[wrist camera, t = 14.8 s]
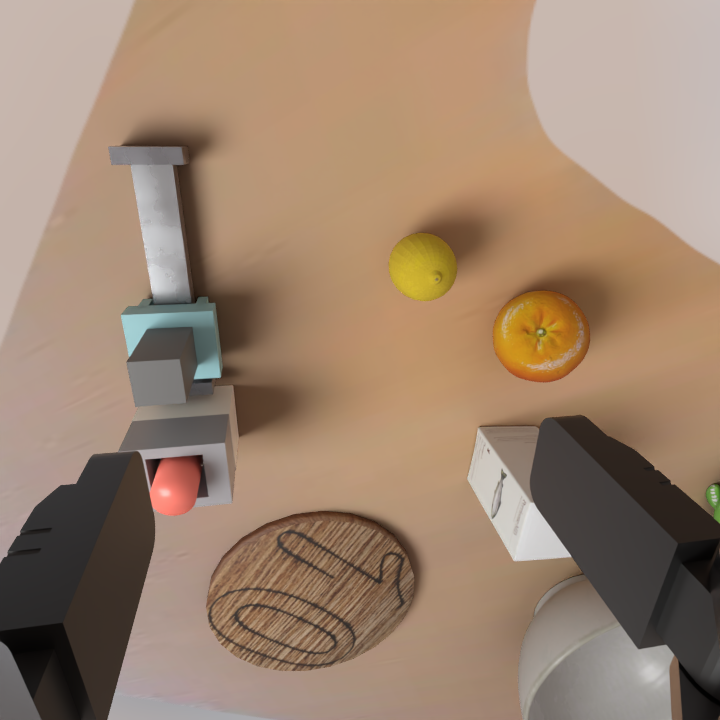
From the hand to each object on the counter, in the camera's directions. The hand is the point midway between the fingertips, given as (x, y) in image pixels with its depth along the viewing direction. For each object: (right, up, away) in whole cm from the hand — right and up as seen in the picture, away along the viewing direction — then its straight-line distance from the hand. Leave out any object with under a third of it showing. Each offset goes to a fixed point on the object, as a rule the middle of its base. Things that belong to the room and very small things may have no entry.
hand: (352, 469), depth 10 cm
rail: (-16, +10, +33) cm, 38 cm away
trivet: (-6, -26, +52) cm, 58 cm away
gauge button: (-15, -6, +33) cm, 37 cm away
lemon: (+5, +12, +36) cm, 38 cm away
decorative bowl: (+31, -33, +61) cm, 76 cm away
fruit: (+17, +6, +41) cm, 44 cm away
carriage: (-16, +5, +34) cm, 38 cm away
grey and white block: (-16, -3, +39) cm, 42 cm away
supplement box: (+16, -8, +47) cm, 51 cm away
